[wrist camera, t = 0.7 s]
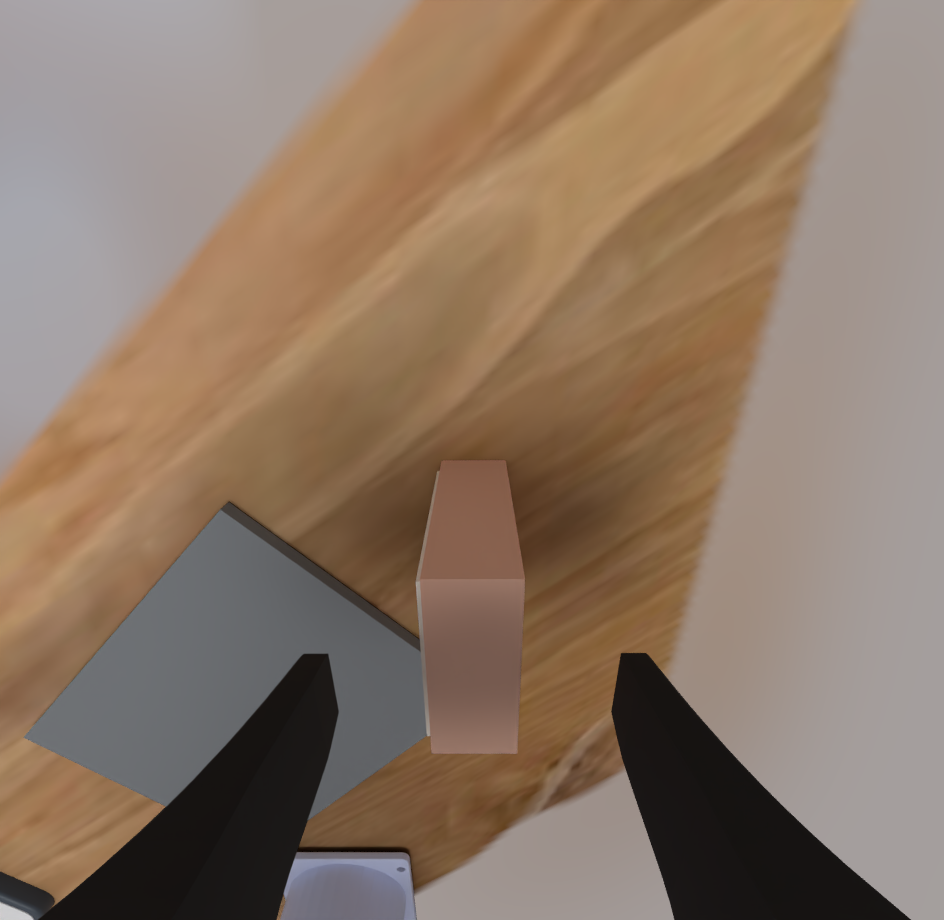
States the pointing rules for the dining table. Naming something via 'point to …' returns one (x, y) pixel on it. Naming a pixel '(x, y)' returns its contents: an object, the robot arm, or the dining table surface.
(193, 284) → the dining table surface
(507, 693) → the tile
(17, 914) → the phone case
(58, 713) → the mat
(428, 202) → the dining table surface
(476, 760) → the dining table surface
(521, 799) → the dining table surface
